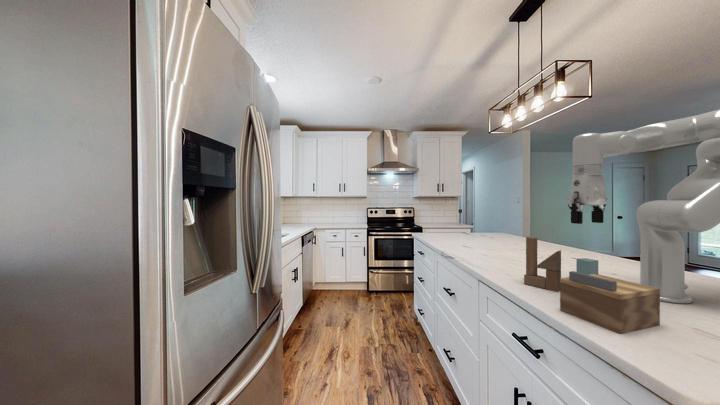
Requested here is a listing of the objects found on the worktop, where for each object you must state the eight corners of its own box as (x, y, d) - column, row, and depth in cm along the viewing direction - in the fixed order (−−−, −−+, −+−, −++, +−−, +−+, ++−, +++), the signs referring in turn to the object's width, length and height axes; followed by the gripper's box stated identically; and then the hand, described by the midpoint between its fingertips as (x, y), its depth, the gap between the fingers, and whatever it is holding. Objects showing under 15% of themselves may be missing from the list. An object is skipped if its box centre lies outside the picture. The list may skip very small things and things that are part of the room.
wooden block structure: (557, 292, 91) (557, 240, 90) (523, 284, 99) (523, 236, 99) (561, 290, 93) (561, 239, 93) (528, 282, 101) (528, 236, 101)
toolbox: (596, 304, 80) (596, 278, 80) (659, 325, 66) (659, 293, 66) (560, 310, 76) (560, 282, 75) (620, 333, 62) (620, 300, 62)
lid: (596, 277, 80) (596, 266, 80) (659, 293, 66) (659, 279, 66) (560, 282, 75) (560, 270, 75) (620, 300, 62) (620, 284, 62)
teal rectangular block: (598, 296, 86) (598, 260, 86) (589, 298, 85) (589, 261, 85) (584, 292, 90) (584, 258, 90) (576, 294, 89) (576, 258, 89)
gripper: (580, 169, 81) (580, 224, 81) (618, 171, 86) (618, 223, 86) (556, 172, 88) (556, 222, 88) (592, 173, 93) (592, 221, 93)
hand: (587, 223), depth 87 cm, fingers open, 9 cm apart
